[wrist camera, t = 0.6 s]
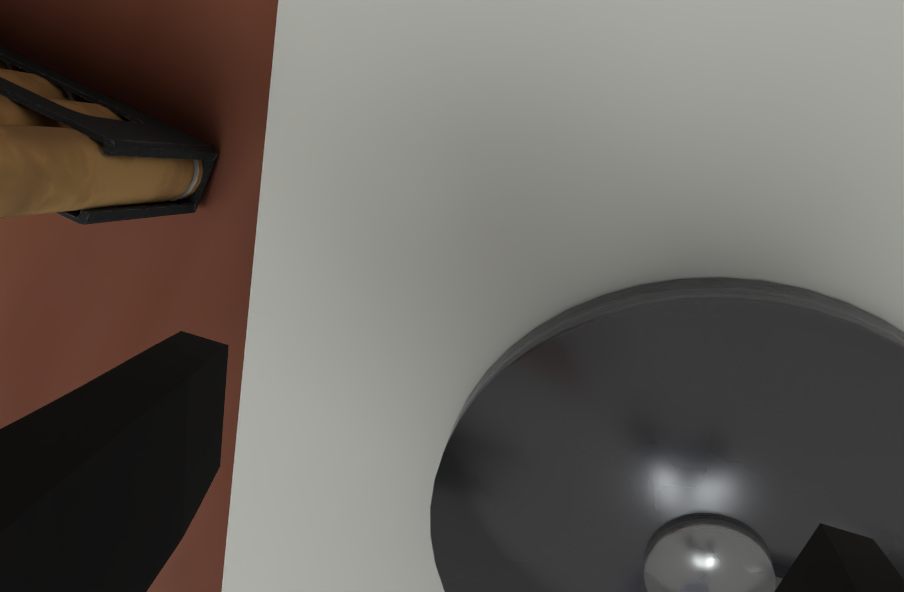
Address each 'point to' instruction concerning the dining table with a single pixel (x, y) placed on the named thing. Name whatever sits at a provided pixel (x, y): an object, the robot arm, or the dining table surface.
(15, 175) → the ammunition clip
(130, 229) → the dining table surface
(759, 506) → the dial
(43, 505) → the robot arm
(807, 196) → the dial plate
